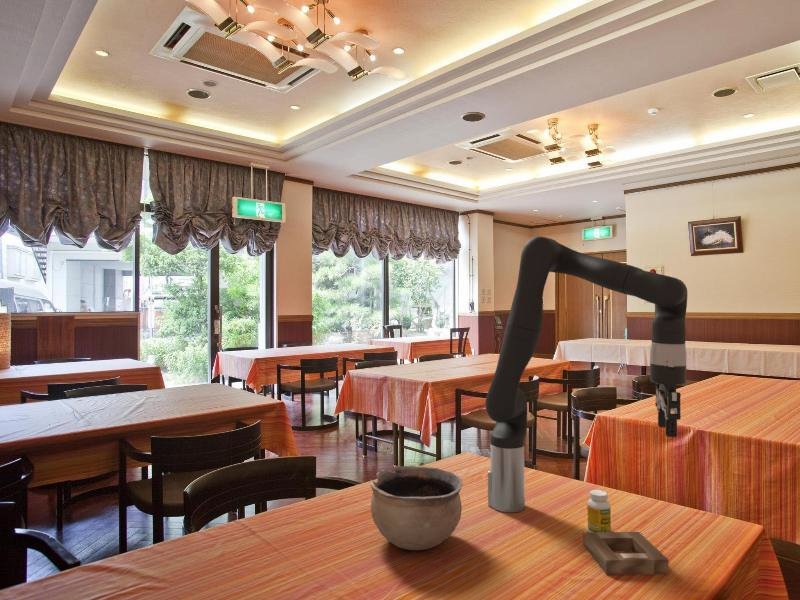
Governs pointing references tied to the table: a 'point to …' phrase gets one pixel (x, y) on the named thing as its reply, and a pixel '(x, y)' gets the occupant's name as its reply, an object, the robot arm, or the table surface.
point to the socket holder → (635, 563)
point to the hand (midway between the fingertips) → (666, 431)
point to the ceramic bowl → (416, 505)
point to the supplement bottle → (599, 512)
